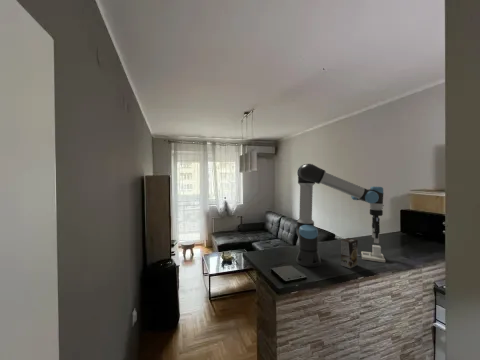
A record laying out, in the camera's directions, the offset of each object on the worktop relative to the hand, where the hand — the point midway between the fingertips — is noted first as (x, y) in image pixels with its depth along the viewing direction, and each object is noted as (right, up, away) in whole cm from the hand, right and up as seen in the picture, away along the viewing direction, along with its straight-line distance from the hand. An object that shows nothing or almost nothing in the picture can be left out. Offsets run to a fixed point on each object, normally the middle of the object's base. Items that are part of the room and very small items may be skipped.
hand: (375, 240), depth 151 cm
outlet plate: (-2, -12, 0) cm, 12 cm away
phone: (-11, -13, +8) cm, 18 cm away
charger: (+1, -12, 0) cm, 12 cm away
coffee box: (-23, -13, -11) cm, 29 cm away
